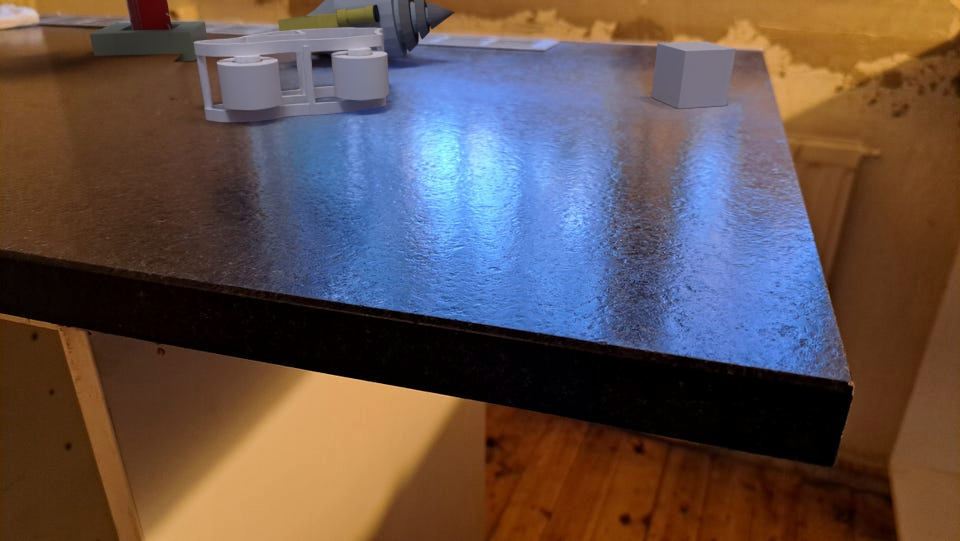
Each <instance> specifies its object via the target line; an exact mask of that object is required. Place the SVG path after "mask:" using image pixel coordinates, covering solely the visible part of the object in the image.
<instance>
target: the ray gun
mask: <svg viewBox="0 0 960 541" xmlns="http://www.w3.org/2000/svg"><path fill="white" fill-rule="evenodd" d="M455 13H456V12H455V11H453V10H450V9H448V8H445V7H443V6H441V5H437V4H435V3H432V2H430V1H426V0H324V1H322V2H321V3H320V4H319V5H318V6H317V7H316V8H315V9H314V10H312V11H311V12H309V13H308V14H307V15H301V16H300V15H299V16H295V17H288V18H279V19H278V20H277V22H278V23H277V24H278V31H290V30H303V29H323V28H382V29H383V35H384V52H386V53H387V58H388V65H390V64H391V60H397V59H404V58H406V57H407V54H408V52H409V53H411V52H412V51H413V50H414V49H415V48H416V47H417V46H418V45H419V41H420V39H421V40H424V39H425V38H426V36H427V35H429V34H430V32H431V30H434V29H435V28H436V27H438V26H439V25H440V24H442V23H443V22H445V21H446V20H447V19H449V17H450V16H452V15H454V14H455ZM369 48H371V50H376V51H377V46H376V47H369ZM340 51H347V50H334V51H314V52H311V55H318V54H327V55H329V56H331V54H333V53H335V52H340Z"/></svg>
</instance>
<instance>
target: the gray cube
mask: <svg viewBox="0 0 960 541" xmlns="http://www.w3.org/2000/svg"><path fill="white" fill-rule="evenodd" d="M655 51H656V52H655V61H654V70H653V79H652V89H651V98H652V99H655V100H657V101H659V102H661V103H663V104H665V105H666V104H667V105H668V106H671V107H673V108H675V109H677V110H679V109H695V108H710V107H712V108H713V107H726V106H728V100H729V95H730V89H731V82H732V76H733V69H734V63H735V56H736V51H737V49H736V48H733V47H730V46H726V45H721V44H716V43H713V42H709V41H705V40H704V41H703V40H702V41H680V42H675V41H674V42H657V43H656V50H655Z"/></svg>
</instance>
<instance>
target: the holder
mask: <svg viewBox="0 0 960 541" xmlns="http://www.w3.org/2000/svg"><path fill="white" fill-rule="evenodd" d="M171 25H172V30H133V31H132V27H131V22H114V23H111V24H108V25H107V26H105V27H102V28H100V29H97V30H96V31H92V32H90V33H89V38H90V42H91V47H92V51H93V56H94V57H95V56H97V57H98V56H100V57H101V56H140V55H141V56H142V55H146V56H147V55H179V56H178V57H177V58H176V59H174V61H173V62H174V63H176V62H177V61H183V62H196V61H197V60H196V59H197V57H196V55H195V49H194V43H193V42H196V41H202V40H209V39H208V32H207V27H206V21H204V20H203V21H202V20H201V21H171ZM195 60H196V61H195Z"/></svg>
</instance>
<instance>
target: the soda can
mask: <svg viewBox="0 0 960 541" xmlns="http://www.w3.org/2000/svg"><path fill="white" fill-rule="evenodd" d="M125 1H126V2H125V3H126V7H127V11H128V18H129V23H131V27H132V31H133V30H172V25H171V22H172V21H171V20H172V19H171V14H170V9H169V3H168V0H125Z"/></svg>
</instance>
